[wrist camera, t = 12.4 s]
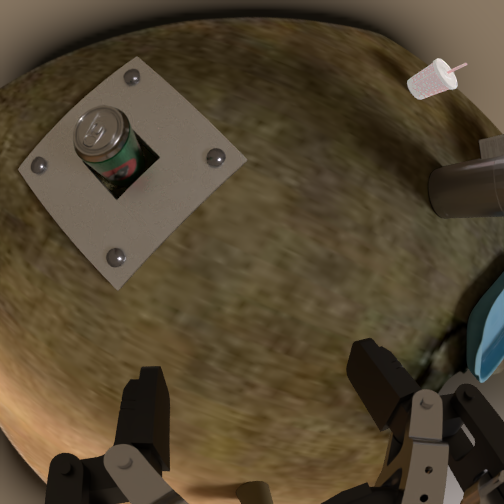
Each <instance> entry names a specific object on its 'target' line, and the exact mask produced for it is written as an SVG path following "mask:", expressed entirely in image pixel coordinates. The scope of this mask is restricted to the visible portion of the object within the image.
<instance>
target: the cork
mask: <svg viewBox="0 0 504 504" xmlns="http://www.w3.org/2000/svg"><path fill="white" fill-rule="evenodd" d="M236 495H237V497H238V499H239V500H240V502H241V504H273V501H272V497H271V493H270V489H269V485H268V484H267V483H265V482H262V481H253V482H249V483H246V484H244V485H242V486H240V487H239V488H238V489H237V490H236Z"/></svg>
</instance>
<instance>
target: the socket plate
mask: <svg viewBox="0 0 504 504" xmlns="http://www.w3.org/2000/svg"><path fill="white" fill-rule="evenodd" d="M102 105H107V106H111V107H114V108H117V109H120V110H121V111H123V112H124V113H125V115H126V116H127V117H128V120H129V122H130V124H131V127H132V129H133V132H134V134H135V136H136V137H137V138H138V139H139V140H140V141H141V142H142V143H143V145H144V146H145V147H146V148H147V149H148V150H149V151H150V152H151V153H152V154H153V155H154V156H155V157H156V158H157V159H158V160H157V161H156V162H155V163H154V164H153V165H152V166H151V167H150V168H149V169H148V170H146V171H145V172H144V173H143V174H142V175H141V176H140V177H139V178H138V179H137V180H136V181H135V182H134V183H133V184H132V185H131V186H130V187H129V188H128V189H127V190H126V191H125V192H124V193H123V194H122V195H121V196H120V197H119V198H118V199H117V198H116V197H115V195H114V194H113V193H112V192H111V191H110V190H109V189H108V188H107V187H106V186H105V184H104V183H103V182H102V181H101V180H100V179H99V178H98V177H97V175H96V174H95V173H94V172H93V171H92V170H91V169H90V167H89V165H88V164H87V163H86V162H84V161H83V160H82V159H81V158H80V157H79V156H78V155H77V153H76V152H75V149H74V144H73V133H74V128H75V126H76V123H77V122H78V120H79V119H80V117H81V116H82V115H83V114H84V113H85V112H87V111H88V110H90V109H92V108H94V107H97V106H102ZM246 161H247V159H246V158H245V157H244V156H243V155H242V154H241V153H240V152H239V151H238V150H237V149H236V148H235V147H234V146H233V145H232V144H231V143H230V142H229V141H228V140H227V139H226V138H225V137H224V136H223V135H222V134H221V133H220V132H219V131H218V130H217V129H216V128H215V127H214V126H213V125H212V124H211V123H210V122H209V121H208V120H207V119H206V118H205V117H204V116H203V115H202V114H201V113H200V112H199V111H198V110H197V109H196V108H195V107H193V106H192V105H191V104H190V103H189V102H188V101H187V100H186V99H185V98H184V97H183V96H182V95H181V94H179V93H178V92H177V91H176V90H175V89H174V88H173V87H172V86H171V85H170V84H168V83H167V82H166V81H165V80H164V79H163V78H162V77H161V76H160V75H158V74H157V73H156V72H155V71H154V70H153V69H152V68H150V67H149V66H148V65H147V64H146V63H145V62H143V61H142V60H141V59H140V58H139V57H138V56H136V57H135V58H134V59H132V60H131V61H129V62H128V63H126V64H125V65H124V66H122V67H121V68H120V69H118V70H117V71H116V72H114V73H113V74H112V75H111V76H109V77H108V78H107V79H105V80H104V81H103V82H102V83H101V84H99V85H98V86H97V87H96V88H95V89H93V90H92V91H91V92H90V93H89V94H88V95H86V96H85V97H84V98H83V99H82V100H81V101H80V102H79V103H78V104H77V105H75V106H74V107H73V108H72V109H71V110H70V111H69V112H68V113H67V114H66V115H65V116H64V117H63V118H62V119H61V120H60V121H59V122H58V123H57V124H56V125H55V126H54V127H53V128H52V129H51V130H50V131H49V133H48V134H47V135H46V136H45V137H44V138H43V139H42V140H41V141H40V143H39V144H38V145H37V146H36V147H35V148H34V150H33V151H32V152H31V153H30V154H29V156H28V157H27V158H26V159H25V160H24V162H23V163H22V164H21V166H20V167H19V168H18V170H19V172H20V173H21V175H22V176H23V178H24V179H25V181H26V182H27V183H28V185H29V186H30V188H31V189H32V191H33V192H34V193H35V195H36V196H37V198H38V199H39V200H40V202H41V203H42V204H43V206H44V207H45V208H46V210H47V211H48V212H49V213H50V215H51V216H52V217H53V219H54V220H55V221H56V222H57V224H58V225H59V226H60V227H61V229H62V230H63V231H64V232H65V233H66V235H67V236H68V237H69V238H70V239H71V241H72V242H73V243H74V244H75V245H76V246H77V247H78V249H79V250H80V251H81V252H82V253H83V254H84V255H85V257H86V258H87V259H88V260H89V261H90V262H91V263H92V264H93V265H94V266H95V268H96V269H97V270H98V271H99V272H100V273H101V274H102V275H103V276H104V277H105V278H106V279H107V280H108V281H109V282H110V283H111V284H112V285H113V286H114V287H115V288H116V289H117V290H119V289H120V288H122V287H123V286H124V284H125V283H126V282H127V281H128V280H129V279H130V278H131V277H132V275H133V274H134V273H135V272H136V271H137V270H138V269H139V268H140V267H141V266H142V264H143V263H144V262H145V261H146V260H147V259H148V258H149V257H150V256H151V255H152V254H153V253H154V252H155V251H156V250H157V248H158V247H159V246H160V245H161V244H162V243H163V242H164V241H165V240H166V239H167V238H168V237H169V236H170V235H171V234H172V233H173V232H174V231H175V230H176V229H177V228H178V227H179V226H180V225H181V224H182V223H183V222H184V221H185V220H186V219H187V218H188V217H189V216H190V215H191V214H192V213H193V212H194V211H195V210H196V209H197V208H198V207H199V206H200V205H201V204H202V203H203V202H204V201H205V200H206V199H207V198H208V197H209V196H210V195H211V194H212V193H213V192H214V191H216V190H217V189H218V188H219V187H220V186H221V185H222V184H223V183H224V182H225V181H226V180H227V179H228V178H229V177H231V176H232V175H233V174H234V173H235V172H236V171H237V170H238V169H239V168H240V167H241V166H243V165H244V163H245V162H246Z"/></svg>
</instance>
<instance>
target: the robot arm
mask: <svg viewBox="0 0 504 504" xmlns="http://www.w3.org/2000/svg"><path fill="white" fill-rule="evenodd" d="M428 189H429V197H430V201H431V204H432V206H433V209H434V210H435V212H436V213H437V214H438V215H439V216H440V217H441V218H445V219H447V218H473V217H504V155H502V156H497V157H492V158H487V159H475V160H470V161H466V162H461V163H456V164H452V165H447V166H443V167H442V168H438V169H435V170H434V171H433V172H432V173H431V175H430V178H429V186H428ZM346 371H347V376H348V378H349V380H350V382H351V384H352V385H353V387H354V388H355V390H356V392H357V393H358V395H359V397H360V398H361V400H362V402H363V403H364V405H365V407H366V408H367V410H368V412H369V413H370V415H371V417H372V418H373V420H374V421H375V423H376V425H377V426H378V428H379V430H380V432H381V431H384V430H386V429H388V428H390V429H391V431H392V432H391V434H390V437H389V442H388V447H387V451H386V456H385V460H384V464H383V468H382V471H381V473H380V475H379V477H378V479H377V481H376V483H375V486H374V487H369V485H368V483H364V484H362V485H359V486H356V487H354V488H351V489H348V490H345V491H343V492H340V493H339V494H337V495H335V496H334V497H332V498H330V499H328V500H327V501H325V502H323V503H321V504H443V499H444V492H445V486H446V477H447V467H448V465H449V467H450V469H451V471H452V472H453V474H454V476H455V477H456V479H457V481H458V483H459V485H460V487H461V488H462V490H463V492H464V496H463V499H462V501H461V503H460V504H504V422H503V420H502V419H501V418H500V416H499V415H498V414H497V412H496V411H495V410H494V409H493V407H492V406H491V405H490V403H489V402H488V401H487V400H486V399H485V397H484V396H483V395H482V394H481V392H480V391H479V390H478V389H477V388H476V387H475V386H473V385H471V384H462V385H460V386H459V387H458V388H457V390H456V391H455V393H454V394H448V395H442V396H439V395H438V394H437V393H436V392H434V391H431V390H426V389H425V390H422V389H421V388H420V387H419V385H418V384H417V383H416V382H415V380H414V379H413V378H412V377H411V376H410V374H409V373H408V372H407V371H406V369H405V368H404V367H402V365H401V363H400V362H399V361H397V358H396V357H395V356H394V355H393V354H392V352H390V351H389V350H387V349H385V348H384V347H382V346H381V347H379V346H378V345H377V344H376V343H375V341H374V340H373V339H372V338H367V339H363V340H359V341H355V342H354V343H353V345H352V348H351V352H350V356H349V360H348V363H347V368H346ZM463 424H465V425H466V427H467V428H468V430H469V431H470V433H471V434H472V436H473V437H474V438H475V446H473V445H472V443H471V442H470V440H469V439H468V437H467V436H466V434H465V433H464V431H463V430H462V428H461V426H462V425H463ZM169 431H170V398H169V392H168V388H167V385H166V382H165V379H164V376H163V372H162V369H161V367H160V366H150V367H141V371H140V377H139V379H130V381H129V382H128V384H127V385H126V386H125V388H124V390H123V395H122V402H121V406H120V412H119V417H118V424H117V430H116V436H115V442H114V445H113V447H111V448H110V449H109V450H108V451H107V452H106V453H105V454H104V455H102V456H99V457H94V458H88V459H82V460H79V458H77V457H76V456H75V455H73V454H70V453H61V454H58V455H57V456H55V457H54V458H53V459H52V461H51V463H50V467H49V473H48V480H47V489H46V498H45V504H119V503H125V502H130V503H131V504H188V503H187V502H186V501H185V500H184V499H183V498H182V497H181V496H180V495H179V494H177V493H176V492H175V491H174V490H173V489H172V488H171V487H170V486H169V485H168V484H167V483H166V482H165V481H164V480H163V478H162V471H170V448H169Z"/></svg>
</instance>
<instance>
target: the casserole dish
mask: <svg viewBox="0 0 504 504" xmlns="http://www.w3.org/2000/svg"><path fill="white" fill-rule="evenodd" d="M503 358H504V271H503V273H502V274H501V275H500V276H499V278H498V279H497V280H496V281H495V282H494V284H493V285H492V286H491V287H490V288H489V289H488V291H487V292H486V293H485V294H484V295H483V296H482V298H481V299H480V300H479V302H478V303H477V304H476V306H475V307H474V309H473V310H472V312H471V314H470V316H469V319H468V324H467V366H468V368H469V370H470V371H471V373H472V374H473V375H474V376H475V377H476V379H477V380H478V381H479V382H481V383H482V382H484V381H485V380H487V379H488V378H489V376H490V375H491V374H492V373H493V372H494V370H495V369H496V368H497V367H498V365H499V364H500V362H501V361H502V360H503Z"/></svg>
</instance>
